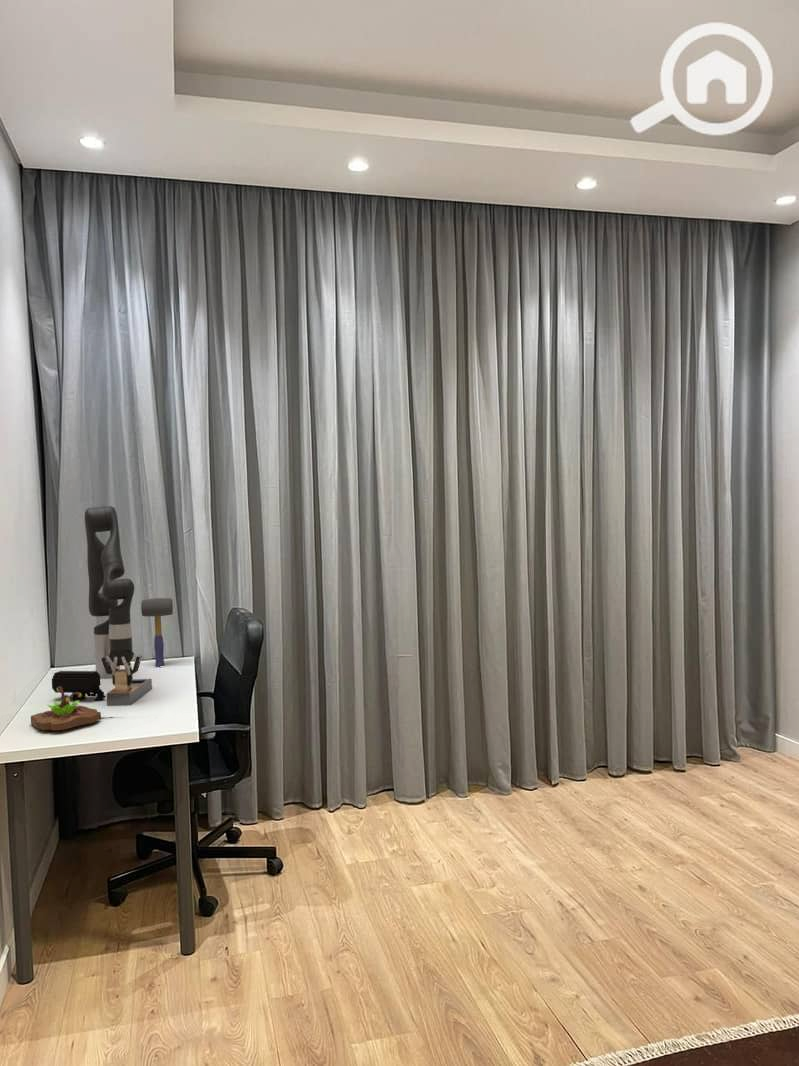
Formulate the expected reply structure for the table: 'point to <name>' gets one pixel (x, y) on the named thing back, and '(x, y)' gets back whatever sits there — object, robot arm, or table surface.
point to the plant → (65, 715)
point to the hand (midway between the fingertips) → (122, 685)
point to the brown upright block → (121, 680)
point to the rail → (129, 693)
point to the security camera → (78, 684)
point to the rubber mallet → (157, 622)
